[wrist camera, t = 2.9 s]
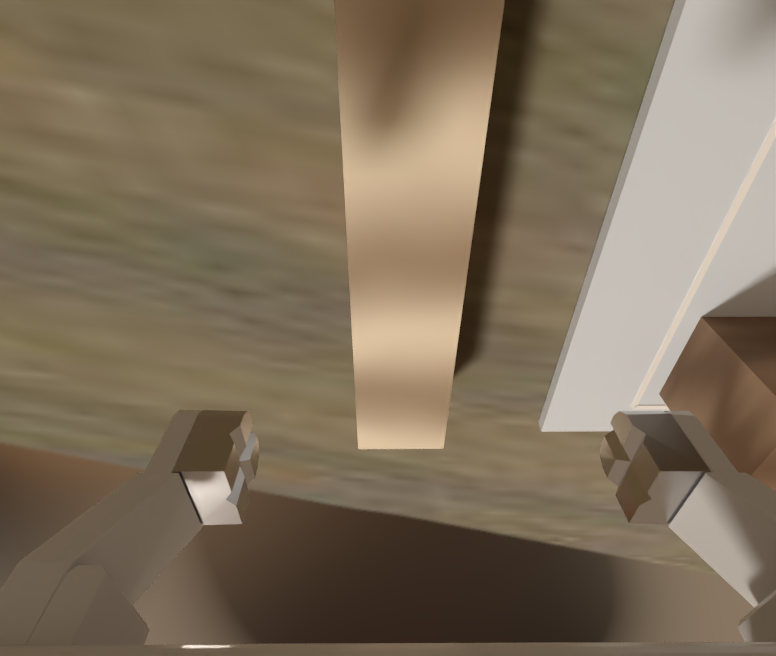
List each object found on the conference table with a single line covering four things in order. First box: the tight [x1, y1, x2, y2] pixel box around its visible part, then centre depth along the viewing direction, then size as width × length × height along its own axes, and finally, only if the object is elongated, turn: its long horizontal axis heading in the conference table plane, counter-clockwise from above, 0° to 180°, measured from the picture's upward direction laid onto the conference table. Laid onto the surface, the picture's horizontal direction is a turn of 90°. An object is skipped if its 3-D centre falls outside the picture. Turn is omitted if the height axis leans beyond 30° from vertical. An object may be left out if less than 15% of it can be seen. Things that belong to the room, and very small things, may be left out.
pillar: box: [659, 317, 776, 491], centre depth 19 cm, size 5×5×6 cm
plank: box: [334, 0, 505, 449], centre depth 16 cm, size 20×4×4 cm, turn 0°
